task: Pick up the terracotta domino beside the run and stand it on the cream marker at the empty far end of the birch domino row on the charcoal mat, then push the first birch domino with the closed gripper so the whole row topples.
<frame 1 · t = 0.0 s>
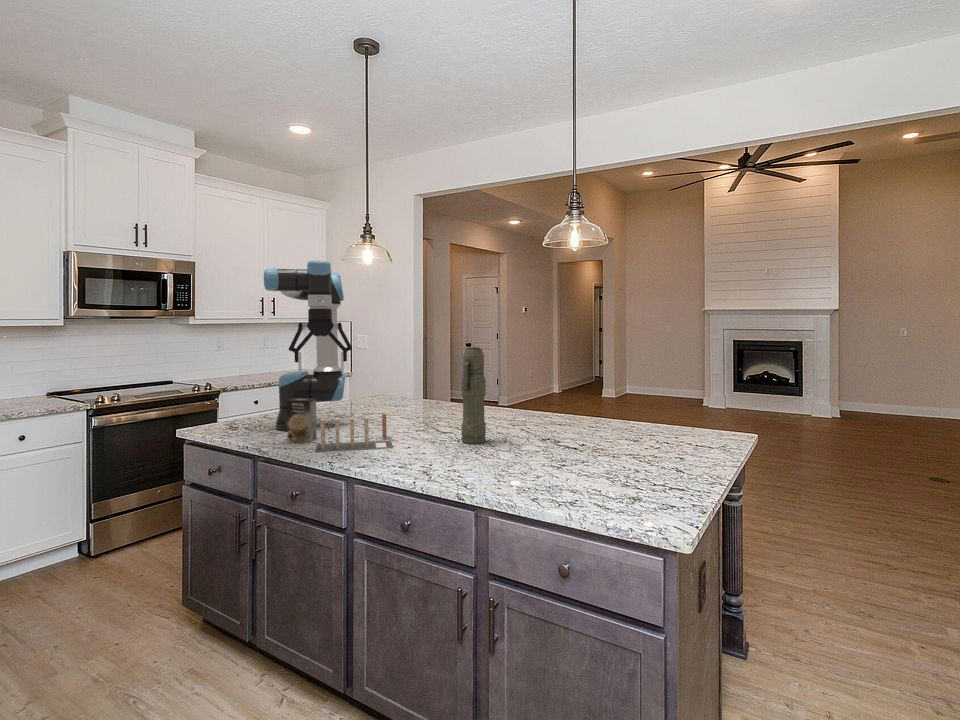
hand: (321, 372, 185), 28 cm above the counter, fingers open, 13 cm apart
domino 1: (323, 448, 194), resting on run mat
domino 4: (366, 445, 197), resting on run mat
domino 3: (352, 446, 196), resting on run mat
domino 5: (384, 439, 209), on the counter
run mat: (354, 447, 197), on the counter
thermos: (473, 442, 205), on the counter
domino 2: (337, 447, 195), resting on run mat
coffee box: (302, 442, 205), on the counter
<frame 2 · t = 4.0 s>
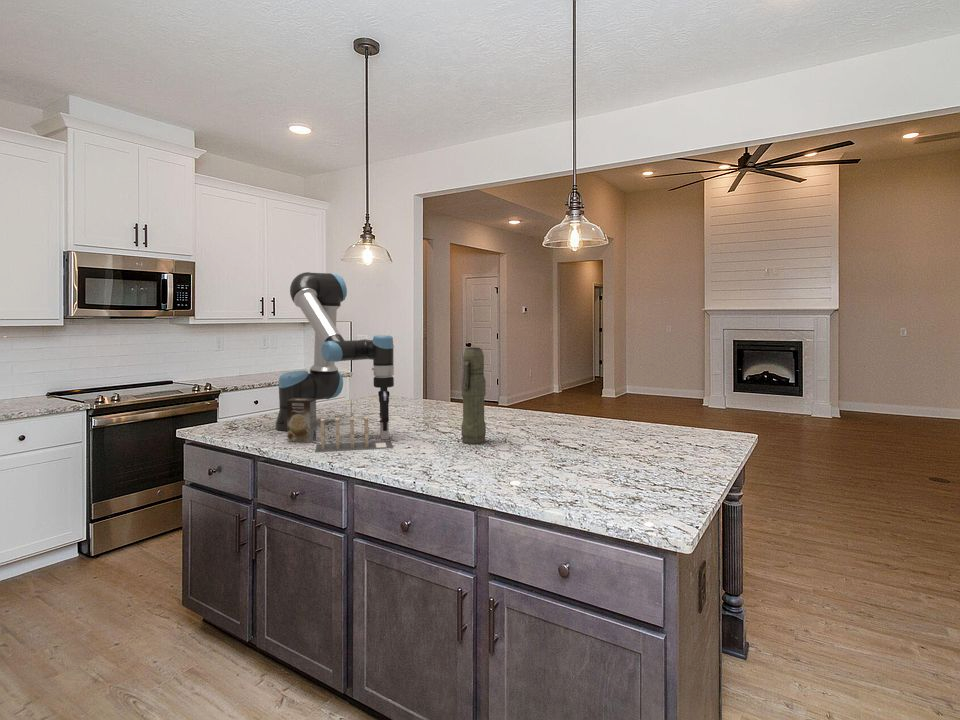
hand: (384, 437, 209), 1 cm above the counter, fingers closed on domino 5, 5 cm apart
domino 5: (384, 439, 209), on the counter, touching gripper
everything else where it was.
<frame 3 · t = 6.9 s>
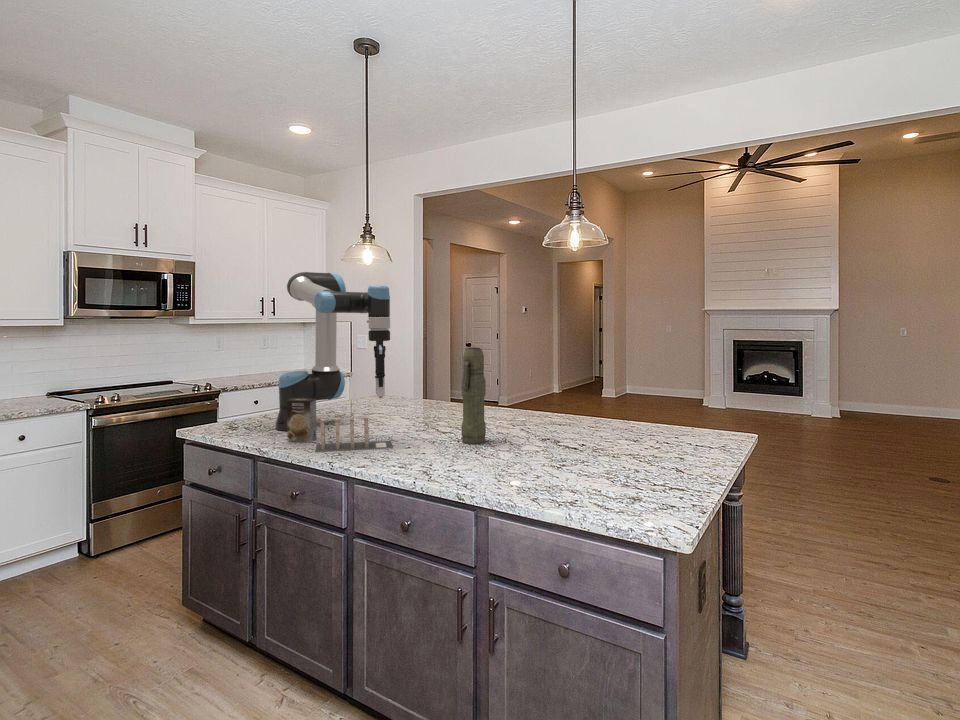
hand: (380, 394, 197), 19 cm above the counter, fingers closed on domino 5, 5 cm apart
domino 5: (380, 397, 197), point 18 cm above the counter, touching gripper
everything else where it was.
when the fingers open (2 cm above the counter, at t = 10.2 s): domino 5 stays where it is, resting on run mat.
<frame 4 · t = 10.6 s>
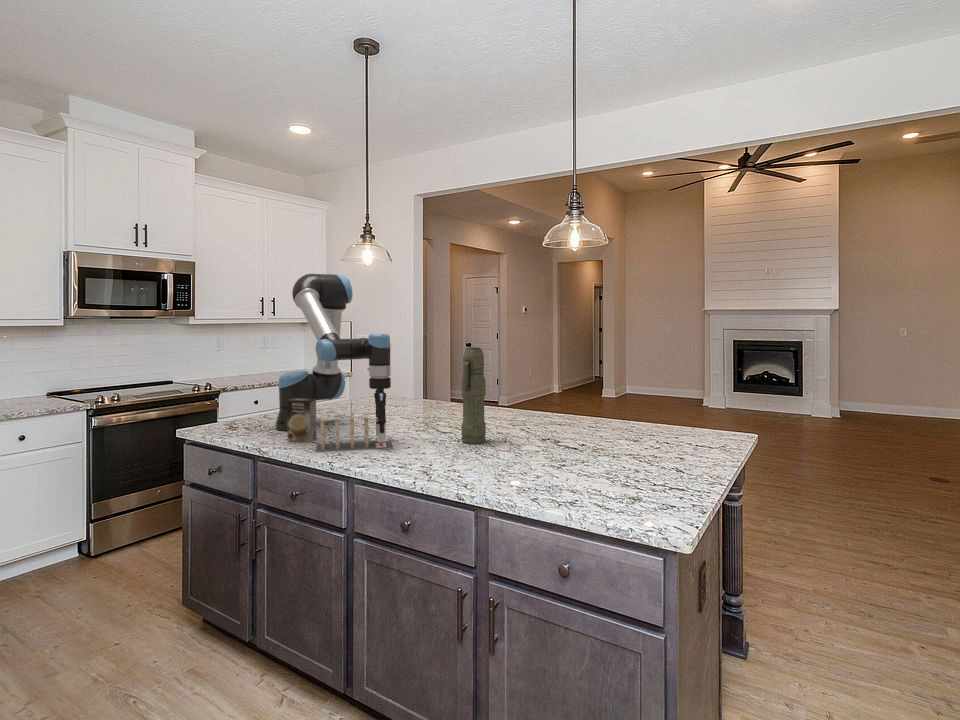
hand: (380, 438, 198), 3 cm above the counter, fingers open, 10 cm apart
domino 5: (381, 445, 198), resting on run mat
everything else where it was.
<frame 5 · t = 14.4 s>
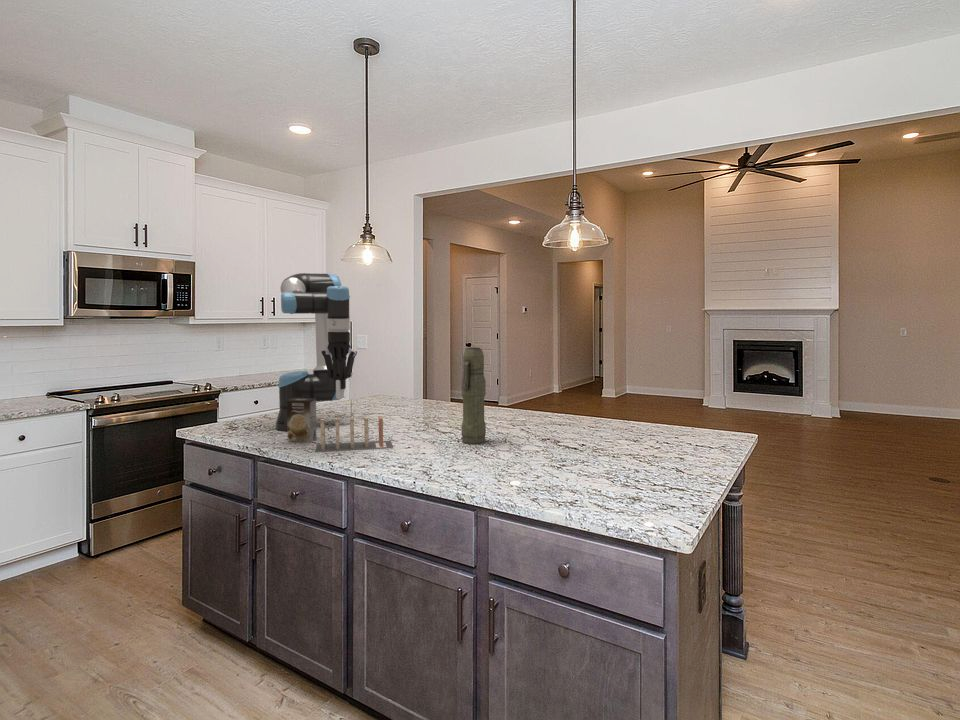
hand: (340, 398, 194), 18 cm above the counter, fingers closed
nothing on the counter moved.
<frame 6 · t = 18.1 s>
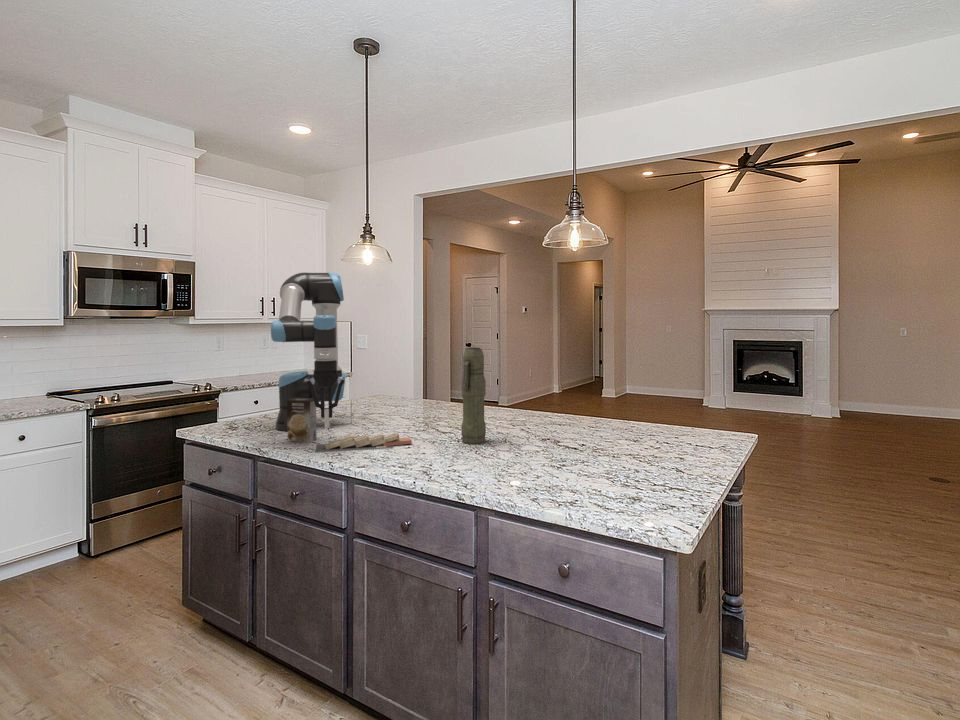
hand: (327, 426, 193), 8 cm above the counter, fingers closed
domino 1: (326, 446, 194), point 1 cm above the counter, tilted 76°, touching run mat
domino 4: (371, 443, 197), point 1 cm above the counter, tilted 76°, touching domino 3, domino 5
domino 3: (355, 444, 196), point 1 cm above the counter, tilted 75°, touching domino 2, domino 4
domino 5: (383, 443, 198), point 1 cm above the counter, tilted 87°, touching domino 4, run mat
domino 2: (340, 445, 195), point 1 cm above the counter, tilted 76°, touching domino 3, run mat
everything else where it was.
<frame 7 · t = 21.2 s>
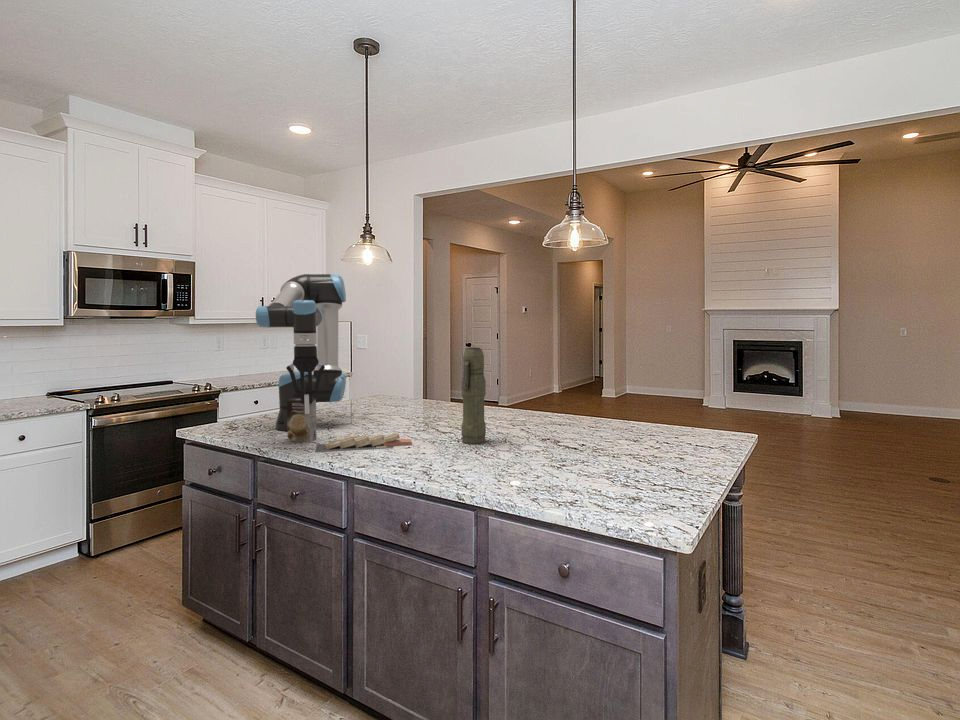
hand: (307, 413, 192), 13 cm above the counter, fingers closed
domino 1: (326, 446, 194), point 1 cm above the counter, tilted 76°, touching domino 2
domino 3: (355, 444, 196), point 1 cm above the counter, tilted 75°, touching domino 2, domino 4, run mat
domino 2: (340, 445, 195), point 1 cm above the counter, tilted 76°, touching domino 1, domino 3, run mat
everything else where it was.
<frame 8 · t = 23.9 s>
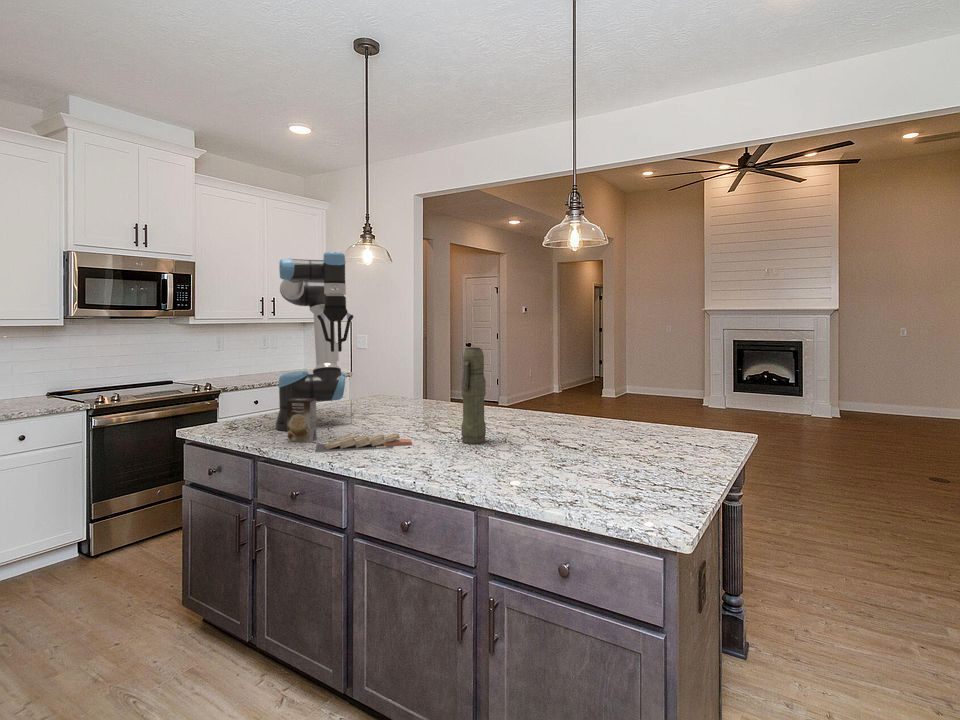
hand: (336, 360, 201), 30 cm above the counter, fingers closed
nothing on the counter moved.
at the end: domino 5 tilted 90°; domino 5 inside the target area (3.2 cm from its centre), point 1.0 cm above the counter; domino 1 tilted 76° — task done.
